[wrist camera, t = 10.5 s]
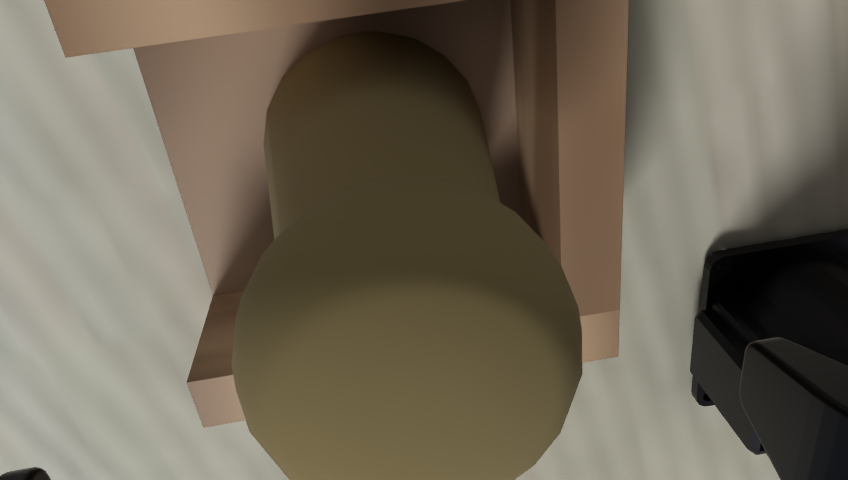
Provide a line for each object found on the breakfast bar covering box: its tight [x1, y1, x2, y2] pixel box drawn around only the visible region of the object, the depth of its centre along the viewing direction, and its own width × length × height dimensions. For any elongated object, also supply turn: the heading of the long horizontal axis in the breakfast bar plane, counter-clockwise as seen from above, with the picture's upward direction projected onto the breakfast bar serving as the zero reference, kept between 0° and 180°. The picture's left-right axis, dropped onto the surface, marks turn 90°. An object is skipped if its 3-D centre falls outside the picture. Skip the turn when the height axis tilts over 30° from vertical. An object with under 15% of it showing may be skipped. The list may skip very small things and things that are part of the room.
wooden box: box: [44, 0, 629, 427], centre depth 17 cm, size 11×12×5 cm
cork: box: [232, 31, 582, 480], centre depth 13 cm, size 6×6×11 cm
